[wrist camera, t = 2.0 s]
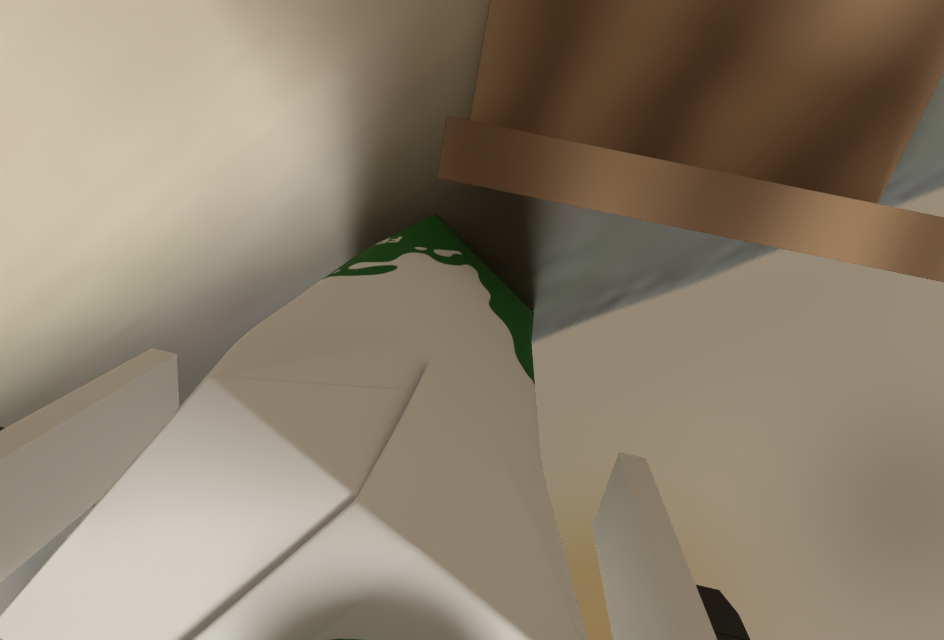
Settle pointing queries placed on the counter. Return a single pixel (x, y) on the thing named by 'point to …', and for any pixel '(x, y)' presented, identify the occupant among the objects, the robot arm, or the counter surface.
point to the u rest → (712, 117)
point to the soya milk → (335, 478)
